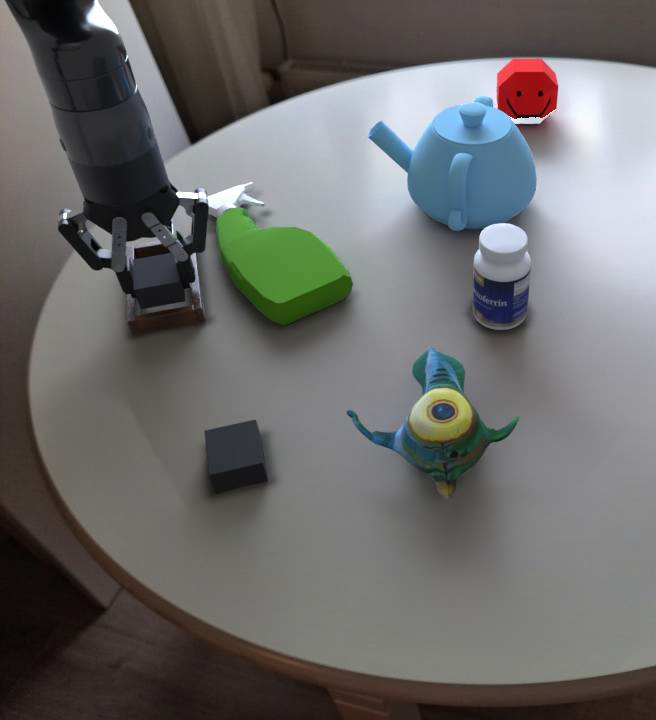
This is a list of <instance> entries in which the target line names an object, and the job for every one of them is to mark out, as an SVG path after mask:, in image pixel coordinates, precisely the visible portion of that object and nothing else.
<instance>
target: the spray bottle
mask: <svg viewBox="0 0 656 720" xmlns="http://www.w3.org/2000/svg"><path fill="white" fill-rule="evenodd" d="M255 189H256V188H255V184H254V183H253V182H252V181H250V182H247V183H244V184H238V185H235V186H233V187H230V188H228V189H224V190H222V191H219V192H217V193H214V194H211V195H207V197H208V205H209V212H208V216H209V215H210V216H213V217H215V218H216V220H215V232H216V233H215V235H216V243H217V247H218V252H219V257H220V260H221V262H222V264H223V266H224V269H225V270H226V272H227V273H228V276H229V277H230V278H231V280H232V282H233V283H234V285H235V286H236V288H237V289H238V290H239V291H240V292H241V293H242V295H243V296H245V298H246V299H247V300H248V301H249V302H250V303H251V305H253V307H255V309H256V310H258V311H259V312H260V313H261V314H262V315H263V316H265V317H266V318H267V319H268V320H269V321H271V322H273V323H276V324H279V325H280V326H281V325H282V326H287V325H289V324H291V323H294V322H296V321H299V320H300V319H303V318H306V317H309V316H310V315H312V314H314V313H316V312H319V311H321V310H323V309H326V308H328V307H330V306H332V305H335V304H338V303H340V302H342V301H343V300H344V299H345V298H347V296H348V295H349V294H350V293H352V291H353V286H354V282H353V279H352V276H351V273H350V271H349V269H348V268H347V267H346V266H345V264H344V263H343V262H342V261H341V260H340V258H339V257H338V255H336V253H335V252H334V251H333V249H332V248H331V247H330V246H329V245H328V244H327V243H326V242H325V241H323V240H322V239H321V238H320V237H319V236H318V234H315V233H313V232H311V231H310V230H306V229H304V228H300V227H297V226H272V227H271V226H270V227H265V228H259V227H258V226H257V225H256V224H255V222H254V220H252V219H251V218H250V217H249V215H250V214H249V210H247V209H246V208H244V207H241V206H242V205H250V206H257V207H258V206H259V207H266V203H265V202H264V201H262V200H261V201H260V200H258V199H255V198H254V197H251V196H249V195H247V194H248V193H251V192H253V191H255Z"/></svg>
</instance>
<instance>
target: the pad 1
mask: <svg viewBox="0 0 656 720" xmlns="http://www.w3.org/2000/svg"><path fill="white" fill-rule="evenodd" d="M133 290H134V293H135V295H136V298H137V301H138V303H139V306H140V310H147V309H151V308H156V307H163V306H167V305H168V306H169V305H173V304H178V303H183V302H187V298H186V297H187V296H186V289H184V287H183V284H182V281H181V278H180V275H179V273H178V270H177V266H176V263H175V257H174V256H173V254H172V253H168V254H162V255H157V256H151V257H145V258H139V259H133Z"/></svg>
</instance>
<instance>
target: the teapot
mask: <svg viewBox="0 0 656 720" xmlns="http://www.w3.org/2000/svg"><path fill="white" fill-rule="evenodd" d="M366 136H367V138H368V139H369V140H370V141H371V142H373V143H374V145H376V146H377V147H378V148H379V149H380V150H381V151H382V152H383V153H385V154H386V155H387V156H388V157H389V158H390V159H391V160H392V161H393V162H394V163H395V164H397V165H398V166H399V167H400V168H401V169H402V170H403V171H404V172H406V173H407V179H406V180H407V181H406V182H407V184H406V186H407V191H408V193H409V196H410V198H411V199H412V201H413V203H414V204H415V205H416V206H417V207H419V209H420V210H421V211H423V212H424V213H425V214H426V215H427V216H429V217H430V218H432V219H433V220H435V221H437V222H439V223H441V224H443V225H446V226H447V227H448V228H449V229H450V230H452V231H454V232H460V231H463V230H464V229H466V230H467V229H469V230H470V229H474V230H476V229H477V230H478V229H485V228H486V227H488V226H490V225H493V224H499V223H506V222H508V221H510V220H511V219H513V218H514V217H516V216H517V215H519V214H520V213H521V212H522V211H523V210H524V209H525V208H527V207H528V205H529V204H530V203H531V201H532V200H533V198H534V196H535V194H536V190H537V181H538V180H537V178H538V177H537V172H536V171H537V169H536V163H535V160H534V156H533V154H532V151H531V149H530V146H529V144H528V142H527V141H526V138H525V137H524V135H523V134H522V132H521V131H520V129H519V128H518V126H517V125H515V123H514V122H513V121H512V120H511V118H510V117H509V116H508V115H507V114H505V113H504V112H502V111H501V110H498V108H496V107H494V100H493V98H491V97H490V96H489V95H483V94H481V95H477V96H476V97H475V98H474V100H473V101H468V102H465V103H462V104H458V105H454V106H450V107H448V108H445V109H444V110H442V111H440V112H438V113H437V114H436V115H435V116H434V117H433V119H432V120H431V121H430V122H429V123H428V125H427V126H426V127H425V130H424V131H423V132H422V134H421V136H420V137H419V139H418V141H417V142H416V144H415V146H414V148H413V149H412V148H411V147H410V146H409V145H408V144H407V143H406V142H405V141H404V140H403V139H402V138H401V137H400V136H398V134H396V133H395V131H393V130H392V129H391V128H390V126H388V125H387V124H386V123H385V122H384V121H383V120H380V121H378V122H376V124H374V125H373V126H372V127H371V129H370V130H369V131H368V133H367V135H366Z"/></svg>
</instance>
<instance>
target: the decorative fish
mask: <svg viewBox="0 0 656 720" xmlns="http://www.w3.org/2000/svg"><path fill="white" fill-rule="evenodd" d="M411 370H412V371H411V373H412V376H413V378H414V379H415V380H416V381H417V383H418V384H419V385H420V387H421V388H422V394H421V396H420V397H419V399H417V401H415V403H414V404H413V405H412V407H411V408H410V410H409V412H407V413H408V414H407V416H406V417H405V419H404V422H403V423H402V425H401V426H400V427H399V428H398V429H396V430H394V431H393V430H392V431H380V430H374V431H372V432H371V431H369V430H368V429H367V428H366V427H365V426H364V425H363V424H362V422H361V420H360V419H359V416H358V414H357V413H356V412H355V411H354V410H352V409H347V410H346V415H347V416H348V417H349V418H351V421H352V423H353V425H354V427H355V428H356V429H357V430H358V432H360V433H361V434H362V436H363V437H365V438H366V439H367V440H369V441H370V442H372V443H374V444H375V445H377V446H379V447H383V448H386V449H389V450H392V451H394V452H395V453H397V454H398V455H400V456H401V457H402V458H403V460H405V461H406V462H407V463H409V464H410V465H411V466H413V467H414V468H416V469H417V470H418V471H419V472H421V473H423V474H424V475H426V476H427V477H429V478H431V479H432V481H433V482H434V485H435V487H436V489H437V491H438V493H439V495H440V496H441V497H443V498H444V499H449V498H451V497H452V496H453V495H454V494H455V493H456V491H457V482H458V479H459V478H460V477H461V476H462V475H464V474H466V473H467V472H468V471H469V470H471V469H472V468H474V467H475V465H476V464H477V463H478V462H479V461H480V459H481V458H482V456H483V455H484V454H485V452H486V451H487V449H488V447H489V446H490V444H493V443H499V442H501V441H504V440H505V439H507V438H508V437H509V436H510V435H511V434H512V433H513V432H514V430H515V428H516V427H517V425H518V423H519V420H520V416H519V415H515V416H514V417H513V418H512V419H511V420H510V421H509V422H508V423H507V424H506V425H505V426H503V427H501V428H499V429H495V428H494V427H493V428H491V427H488V426H487V424H485V423H484V421H483V419H482V418H481V416H480V414H479V412H478V411H477V408H475V406H474V405H473V403H472V402H471V400H470V399H469V398H468V396H466V394H465V389H464V387H465V378H466V371H465V368H464V365H463V364H462V362H460V360H459V359H457V358H456V357H453V356H451V355H449V354H446V353H444V352H442V351H440V350H439V349H435V348H434V347H433V346H429V347H428V349H427V350H426V351H425V352H423V353H422V354H421V355H420V356H419V357H418V358H417V359H416V360H415V361H414V363H413V365H412V369H411Z"/></svg>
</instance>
